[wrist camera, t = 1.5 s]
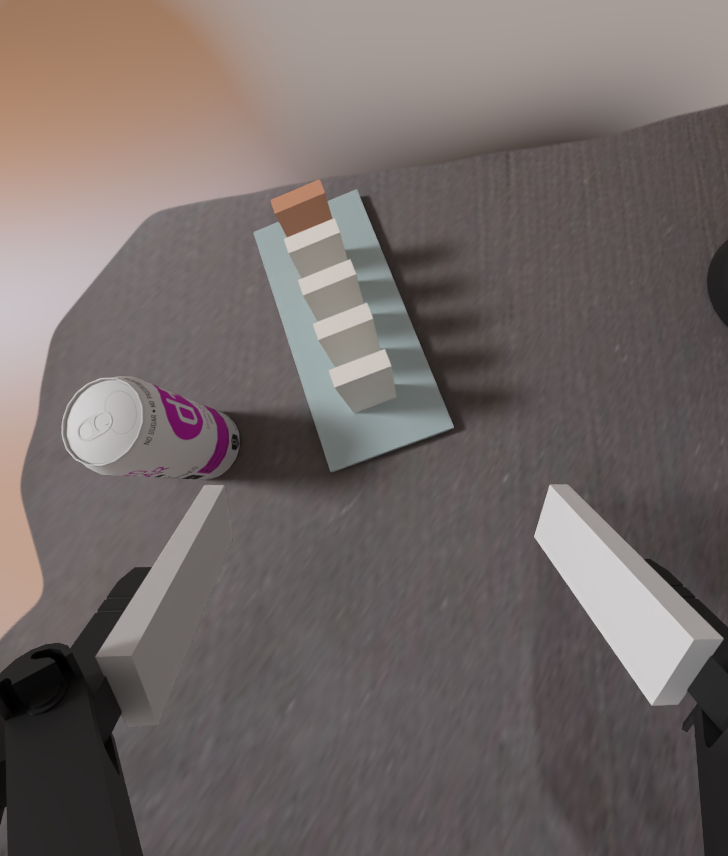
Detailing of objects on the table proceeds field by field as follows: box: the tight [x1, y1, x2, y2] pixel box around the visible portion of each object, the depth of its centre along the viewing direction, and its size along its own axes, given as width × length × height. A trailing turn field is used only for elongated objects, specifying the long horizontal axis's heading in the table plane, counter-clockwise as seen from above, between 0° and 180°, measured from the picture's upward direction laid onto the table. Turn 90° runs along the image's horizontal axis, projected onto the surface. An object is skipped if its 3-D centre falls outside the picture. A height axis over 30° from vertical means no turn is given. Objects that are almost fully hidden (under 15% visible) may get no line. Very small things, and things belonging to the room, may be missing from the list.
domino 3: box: [298, 259, 364, 322], centre depth 36 cm, size 2×5×10 cm, turn 109°
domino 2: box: [284, 218, 348, 278], centre depth 37 cm, size 2×5×10 cm, turn 110°
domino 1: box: [270, 179, 332, 237], centre depth 38 cm, size 2×5×10 cm, turn 109°
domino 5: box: [329, 349, 397, 413], centre depth 34 cm, size 2×5×10 cm, turn 109°
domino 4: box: [313, 303, 380, 368], centre depth 35 cm, size 2×5×10 cm, turn 109°
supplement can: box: [62, 377, 240, 480], centre depth 35 cm, size 8×8×15 cm
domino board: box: [253, 189, 454, 472], centre depth 42 cm, size 14×32×1 cm, turn 19°
